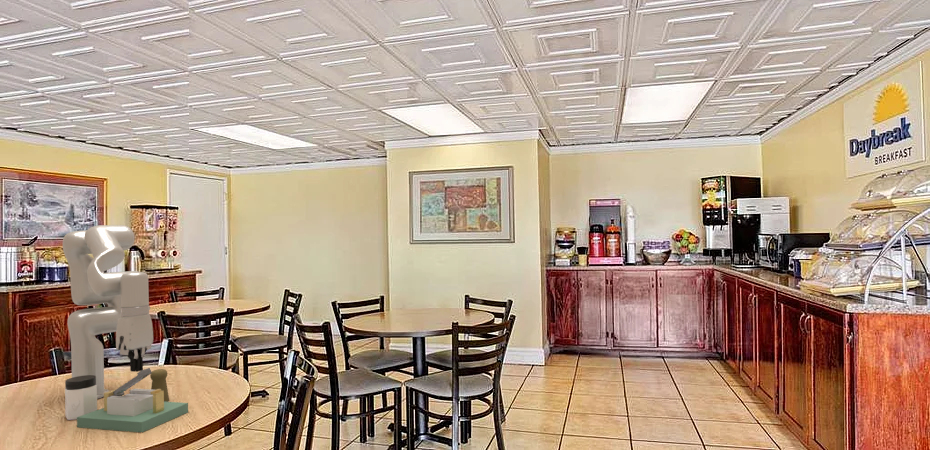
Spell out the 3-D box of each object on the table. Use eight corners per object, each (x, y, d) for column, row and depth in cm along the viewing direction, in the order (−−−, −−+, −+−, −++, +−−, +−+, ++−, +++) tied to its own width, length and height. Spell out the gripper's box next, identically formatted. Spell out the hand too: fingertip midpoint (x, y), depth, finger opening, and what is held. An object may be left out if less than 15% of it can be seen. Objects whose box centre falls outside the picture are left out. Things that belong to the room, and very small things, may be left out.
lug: (150, 412, 166) (150, 391, 166) (158, 409, 169) (158, 388, 169) (156, 413, 165) (155, 391, 166) (164, 410, 168) (163, 389, 168)
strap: (114, 395, 169) (111, 390, 170) (122, 392, 172) (120, 387, 173) (144, 375, 167) (141, 370, 167) (151, 372, 170) (149, 367, 170)
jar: (59, 421, 170) (58, 382, 170) (71, 413, 178) (71, 376, 178) (91, 418, 172) (90, 380, 172) (102, 410, 180) (101, 374, 180)
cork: (160, 404, 184) (159, 372, 184) (145, 404, 185) (144, 371, 185) (173, 399, 190) (172, 367, 190) (158, 398, 191) (157, 367, 191)
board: (77, 427, 164) (76, 399, 164) (128, 408, 181) (127, 382, 181) (141, 432, 158) (141, 403, 158) (188, 412, 175) (187, 385, 175)
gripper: (145, 308, 178) (146, 365, 177) (104, 315, 163) (105, 376, 163) (163, 308, 176) (165, 365, 175) (124, 315, 161) (125, 377, 161)
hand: (136, 370), depth 169 cm, fingers closed
